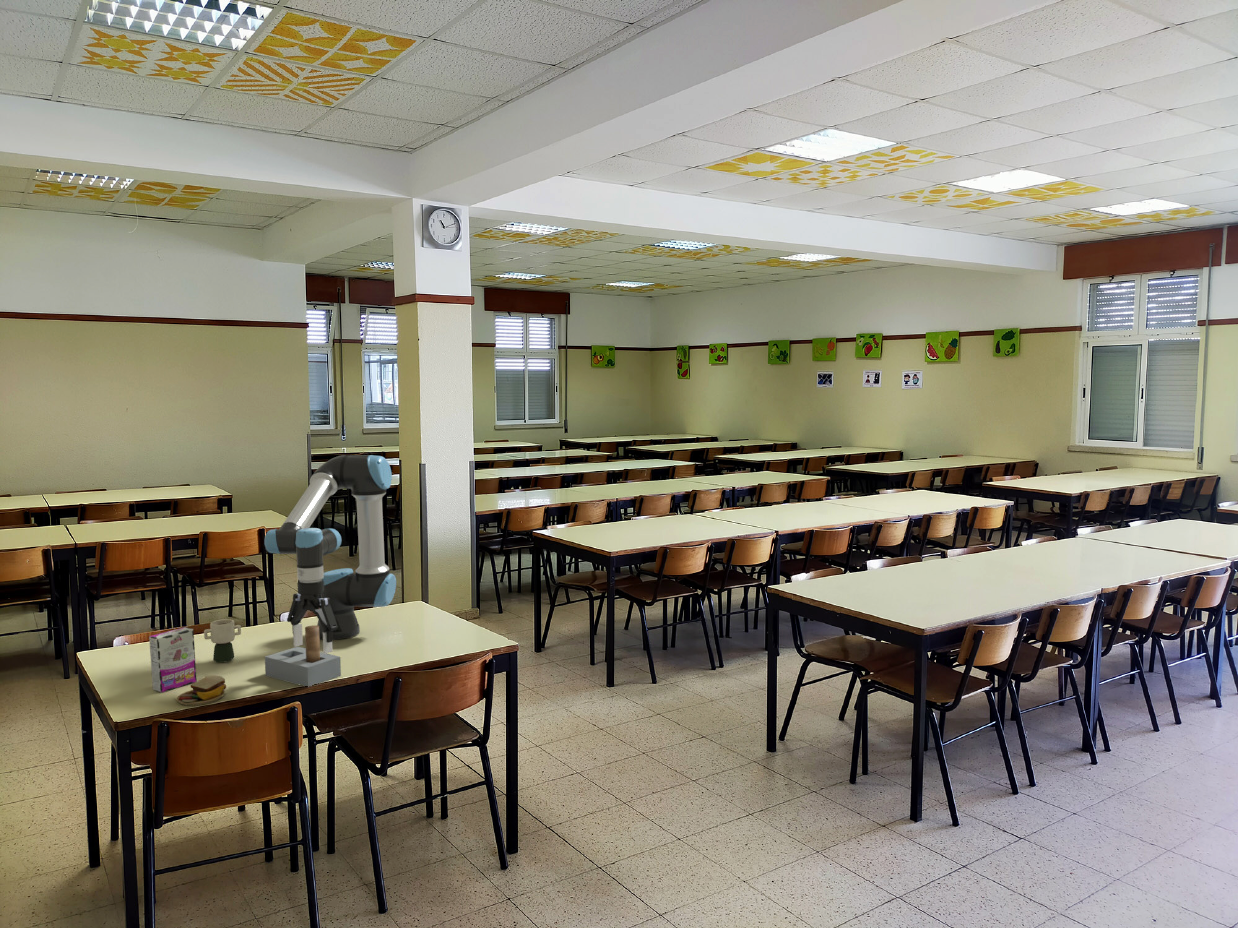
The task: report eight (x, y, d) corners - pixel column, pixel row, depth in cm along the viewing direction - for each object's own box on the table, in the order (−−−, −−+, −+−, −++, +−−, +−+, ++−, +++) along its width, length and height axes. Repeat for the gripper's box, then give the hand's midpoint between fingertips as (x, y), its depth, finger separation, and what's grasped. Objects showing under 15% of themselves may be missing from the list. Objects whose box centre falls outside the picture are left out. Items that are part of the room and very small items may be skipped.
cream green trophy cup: (240, 655, 283) (238, 616, 282) (243, 661, 277) (242, 621, 276) (204, 660, 278) (202, 621, 276) (206, 666, 272) (205, 626, 270)
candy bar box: (187, 679, 260) (185, 626, 259) (197, 682, 258) (194, 628, 256) (151, 690, 251) (148, 635, 249) (160, 693, 248) (157, 638, 247)
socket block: (265, 675, 263) (264, 656, 263) (298, 664, 273) (297, 646, 273) (308, 687, 253) (307, 667, 252) (340, 675, 263) (340, 656, 262)
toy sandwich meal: (167, 701, 242) (166, 685, 242) (211, 687, 254) (211, 671, 253) (193, 710, 236) (192, 693, 235) (237, 695, 247) (236, 679, 247)
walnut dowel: (303, 672, 260) (302, 627, 258) (314, 669, 263) (313, 624, 262) (312, 675, 257) (310, 629, 256) (323, 671, 261) (321, 626, 260)
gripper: (273, 577, 261) (275, 645, 263) (328, 587, 248) (330, 658, 250) (294, 573, 268) (296, 639, 269) (348, 582, 254) (350, 652, 256)
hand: (312, 648), depth 260 cm, fingers open, 13 cm apart
